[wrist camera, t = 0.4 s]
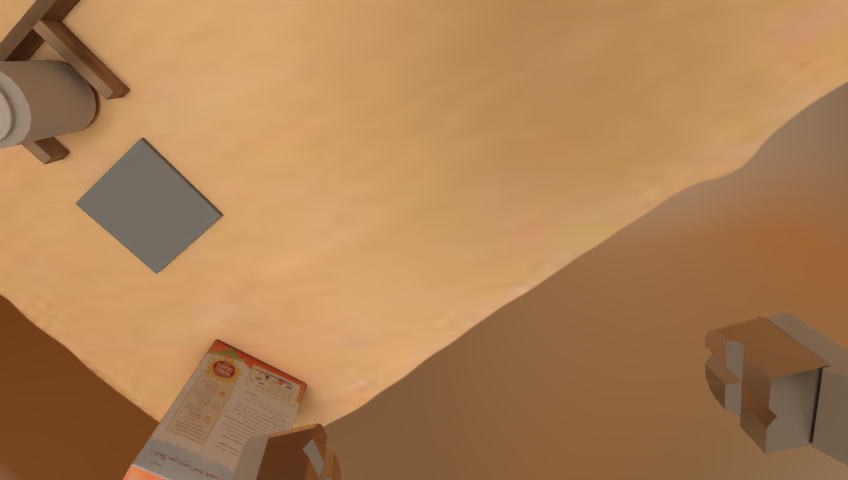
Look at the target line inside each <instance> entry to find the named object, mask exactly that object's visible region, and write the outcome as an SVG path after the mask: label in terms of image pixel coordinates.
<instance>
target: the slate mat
mask: <svg viewBox="0 0 848 480" xmlns="http://www.w3.org/2000/svg"><path fill="white" fill-rule="evenodd" d="M75 204H77V205H78V206H79V207H80V208H81V209H82V210H83V211H85V212H86V213H87V214H88V215H89V216H90V217H91V218H93V219H94V220H95V221H96V222H97V223H98V224H100V225H101V226H102V227H103V228H104V229H105V230H106V231H108V232H109V233H110V234H111V235H112V236H113V237H115V238H116V239H117V240H118V241H119V242H120V243H121V244H123V245H124V246H125V247H126V248H127V249H128V250H130V251H131V252H132V253H133V254H134V255H135V256H136V257H138V258H139V259H140V260H141V261H142V262H143V263H145V264H146V265H147V266H148V267H149V268H150V269H151V270H153V271H154V272H155V273H156V274H157V273H158V272H159V271H160V270H162V269H163V268H164V267H165V266H166V265H167V264H168V263H169V262H171V261H172V260H173V259H174V258H175V257H176V256H177V255H178V254H180V253H181V252H182V251H183V250H184V249H185V248H186V247H187V246H189V245H190V244H191V243H192V242H193V241H194V240H195V239H197V238H198V237H199V236H200V235H201V234H202V233H203V232H204V231H206V230H207V229H208V228H209V227H210V226H211V225H212V224H213V223H215V222H216V221H217V220H218V219H219V218H220V217H221V216H222V215H223V214H222V213H221V212H220V211H219V210H218V209H217V208H216V207H214V206H213V205H212V204H211V203H210V202H209V201H208V200H207V199H206V198H205V197H204V196H203V195H202V194H201V193H200V192H199V191H198V190H197V189H196V188H195V187H194V186H193V185H192V184H191V183H190V182H189V181H188V180H187V179H185V178H184V177H183V176H182V175H181V174H180V173H179V172H178V171H177V170H176V169H175V168H174V167H173V166H172V165H171V164H170V163H169V162H168V161H167V160H166V159H165V158H164V157H163V156H162V155H161V154H160V153H159V152H158V151H156V150H155V149H154V148H153V147H152V146H151V145H150V144H149V143H148V142H147V141H146V140H145V139H144V138H141V139H140V140H139V141H138V142H137V143H136V144H135V145H134V146H133V147H132V148H131V149H130V150H129V151H128V152H127V153H126V154H125V155H124V156H123V157H122V158H121V159H120V160H119V161H118V162H117V163H116V164H115V165H114V166H113V167H112V168H111V169H110V170H109V171H108V172H107V173H106V174H105V175H104V176H103V177H102V178H101V179H100V180H99V181H97V182H96V183H95V184H94V185H93V186H92V187H91V188H90V189H89V190H88V191H87V192H86V193H85V194H84V195H83V196H82V197H81V198H80V199H79V200H78V201H77V202H76V203H75Z"/></svg>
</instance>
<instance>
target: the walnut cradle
mask: <svg viewBox="0 0 848 480" xmlns="http://www.w3.org/2000/svg"><path fill="white" fill-rule="evenodd" d="M78 2H79V0H36V2H35V3H34V4H33V5H32V6H31V8H30V9H29V10H28V11H27V12H26V13H25V15H24V16H23V17H22V18H21V19H20V21H19V22H18V23H17V24H16V25H15V26H14V28H13V29H12V30H11V31H10V32H9V34H8V35H7V36H6V37H5V38H4V40H3V41H2V42H1V43H0V62H2V61H27V60H28V59H29V58H30V57H31V55H32V54H33V53H34V52H35V51H36V50H37V49H38V47H39V46H40V45H41V44H42V43H43V42H44V41H46V42H47V43H48V44H49V45H50V46H51V47H52V48H54V49H55V50H56V51H57V52H58V53H59V54H60V55H61V56H62V57H63V58H64V59H65V60H66V61H67V62H68V63H69V64H70V65H71V66H72V67H73V68H74V69H75V70H76V71H77V72H78V73H79V74H80V75H81V76H82V77H84V78H85V79H86V80H87V81H88V82H89V83H90V84H91V85H92V86H93V87H94V88H95V89H96V90H97V91H98V92H99V93H100V94H101V95H102V96H103V97H104V98H105V99H106V100H108V99H115V98H121V97H124V96H125V95H126V94H127V93H128V92H129V89H128V88H127V87H126V86H125V85H124V84H123V83H122V82H121V81H120V80H119V79H118V78H117V77H116V76H115V75H114V74H113V73H112V72H111V71H110V70H109V69H108V68H107V67H106V66H105V65H104V64H103V63H102V62H101V61H100V60H99V59H98V58H97V57H96V56H95V55H94V54H93V53H92V52H91V51H90V50H89V49H88V48H87V47H86V46H85V45H84V44H83V43H82V42H81V41H80V40H79V39H78V38H77V37H76V36H75V35H74V34H73V33H72V32H71V31H70V30H69V29H68V28H67V27H66V26H65V25H64V24H63V23H62V22H61V21H62V20H63V19H64V18H65V16H66V15H67V14H68V13H69V12H70V11H71V10H72V8H73V7H74V6H75V5H76V4H77V3H78ZM22 145H23V146H24V147H25V148H26V149H28V150H29V151H30V152H31V153H32V154H33V155H34V156H36V157H37V158H38V159H39V160H40V161H41V162H42V163H44V164H48V163H52V162H55V161H58V160H61V159H64V158H65V157H66V156H67V155H68V154H69V153H70V152H69V151H68V150H67V149H66V148H65V147H64V146H63V145H61V144H60V143H59V142H58V141H57V140H56V139H55V138H54V137H50V138H45V139H41V140H37V141H33V142H28V143H24V144H22Z"/></svg>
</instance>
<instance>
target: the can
mask: <svg viewBox="0 0 848 480" xmlns="http://www.w3.org/2000/svg"><path fill="white" fill-rule="evenodd" d="M95 110H96V102H95V95H94V93H93V91H92V89H91V86H90V84H89V83H88V82H87V81H86V79H85V78H84V77H82V76H81V75H80V74H79V73H78V72H77V71H76V70H75V69H74V68H73V67H71V66H69V65H66V64H64V63H62V62H58V61H49V60H44V61H2V62H0V148H7V147H11V146H16V145H20V144H24V143H28V142H33V141H37V140H41V139H45V138H50V137H54V136H58V135H62V134H67V133H71V132H75V131H80V130H82V129H84V128H85V127H86V126H88V125H89V124H90V123H91V121H92V119H93V118H94V115H95Z"/></svg>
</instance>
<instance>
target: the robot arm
mask: <svg viewBox="0 0 848 480" xmlns="http://www.w3.org/2000/svg"><path fill="white" fill-rule="evenodd" d="M705 346H706V347H707V348H708V349H709V350H710V351H711V352H712V355H711V356H710V357H709V359H708V360H707V362H706V363H705V373H706V379H707V382H708V384H709V387H710V390H711V391H712V393H713V395H714V396H715V398H716V400H717V401H718V402H719V403H720V404H721V405H722V407H723V408H724V409H725V410H728V411H730V412H732V413H735V414H737V415H740V427H741V428H742V429H743V430H744V431H745V432H746V433H747V434H748V436H749V437H750V438H751V439H752V440H753V441H754V442H755V443H756V444H757V445H758V446H759V448H760V449H761V450H762V451H763V452H764V453H765V454H767V453H771V452H777V451H782V450H787V449H792V448H797V447H802V446H807V445H812V447H813V448H815V449H817V450H819V451H821V452H823V453H825V454H827V455H829V456H830V457H832V458H834V459H836V460H838V461H840V462H842V463H844V464H846V465H848V351H847V350H846V349H844V348H843V347H841V346H840V345H838V344H836V343H835V342H834V341H832V340H831V339H829V338H828V337H826V336H825V335H823V334H822V333H821V332H819V331H818V330H816V329H815V328H813V327H812V326H810V325H809V324H807V323H806V322H804V321H803V320H801V319H800V318H799V317H797V316H796V315H794V314H793V313H790V312H787V311H780V312H776V313H772V314H768V315H764V316H761V317H758V318H754V319H751V320H746V321H743V322H738V323H734V324H730V325H726V326H722V327H718V328H714V329H710V330H708V332H707V334H706V336H705ZM326 443H327V434H326V432H325V430H324V428H323V426H322V425H321V424H318V423H317V424H312V425H308V426H303V427H298V428H294V429H289V430H284V431H280V432H275V433H272V434H268V435H263V436H259V437H254V438H250V439H249V440H248V441H247V442H246V443H245V445H244V447H243V450H242V453H241V456H240V458H239V461H238V464H237V467H236V470H235V473H234V475H233V478H232V480H341V470H340V467H339V463H338V460H337V457H336V455H335V452H334V451H333V450H331V449H329V448H327V447H326Z"/></svg>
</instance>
